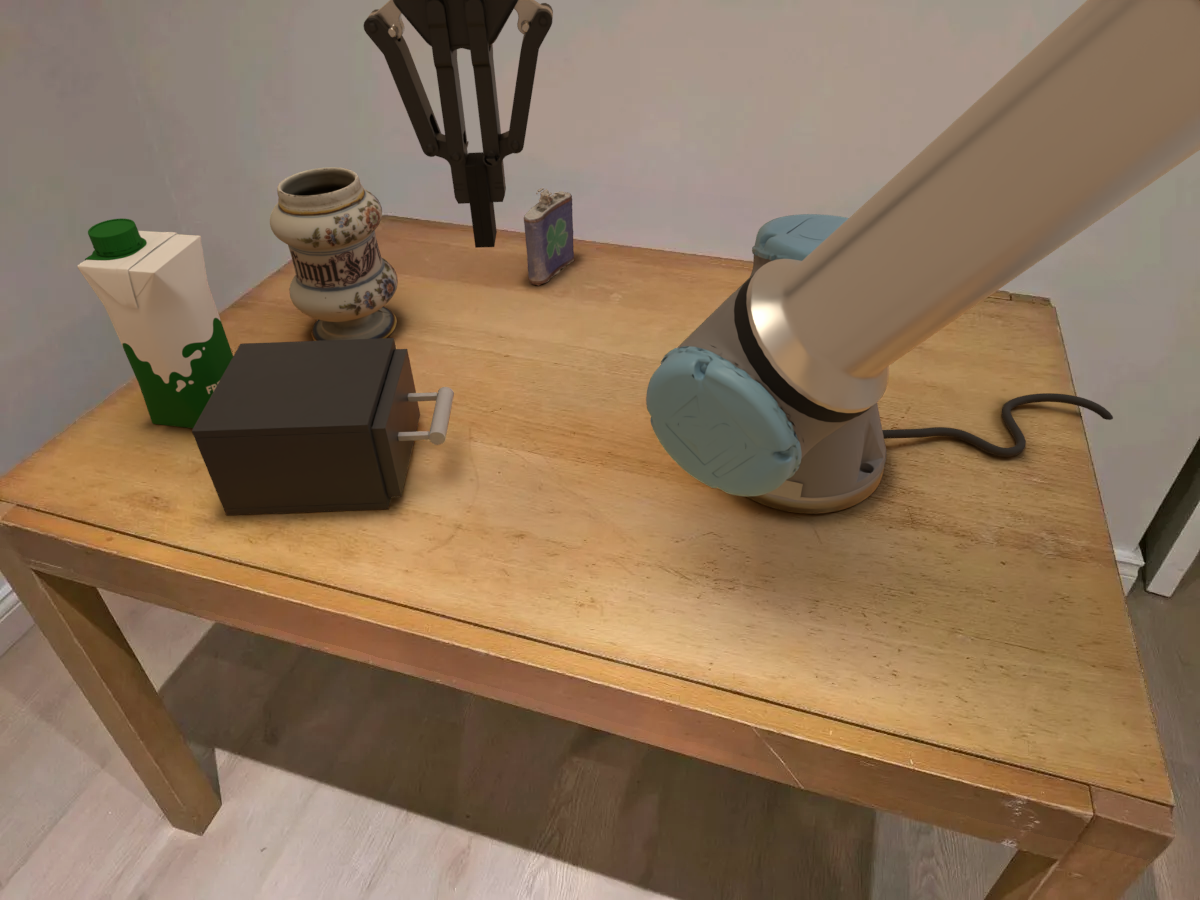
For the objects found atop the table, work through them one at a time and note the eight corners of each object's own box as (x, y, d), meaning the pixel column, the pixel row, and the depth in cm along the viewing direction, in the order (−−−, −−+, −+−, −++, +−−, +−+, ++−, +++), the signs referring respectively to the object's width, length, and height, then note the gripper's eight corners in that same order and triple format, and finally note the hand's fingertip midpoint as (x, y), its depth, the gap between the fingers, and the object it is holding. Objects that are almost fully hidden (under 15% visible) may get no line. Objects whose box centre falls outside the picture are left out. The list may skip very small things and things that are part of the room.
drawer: (462, 412, 87) (452, 346, 83) (448, 495, 78) (436, 426, 73) (286, 419, 87) (265, 353, 83) (250, 502, 78) (224, 434, 73)
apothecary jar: (341, 296, 109) (306, 154, 97) (424, 312, 105) (398, 166, 94) (280, 346, 100) (234, 195, 89) (369, 364, 96) (333, 210, 85)
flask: (541, 287, 109) (534, 206, 102) (521, 282, 110) (514, 201, 104) (579, 257, 115) (575, 178, 108) (560, 253, 116) (555, 175, 110)
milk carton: (187, 380, 95) (118, 206, 82) (262, 388, 93) (204, 211, 81) (138, 428, 88) (55, 247, 76) (219, 438, 87) (148, 254, 74)
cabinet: (410, 418, 88) (394, 337, 82) (388, 509, 78) (367, 424, 72) (267, 423, 88) (240, 343, 82) (225, 515, 78) (191, 431, 72)
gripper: (549, -123, 57) (568, 216, 72) (351, -115, 57) (411, 222, 72) (547, -108, 51) (567, 258, 66) (326, -100, 51) (396, 264, 66)
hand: (486, 239), depth 69 cm, fingers closed
